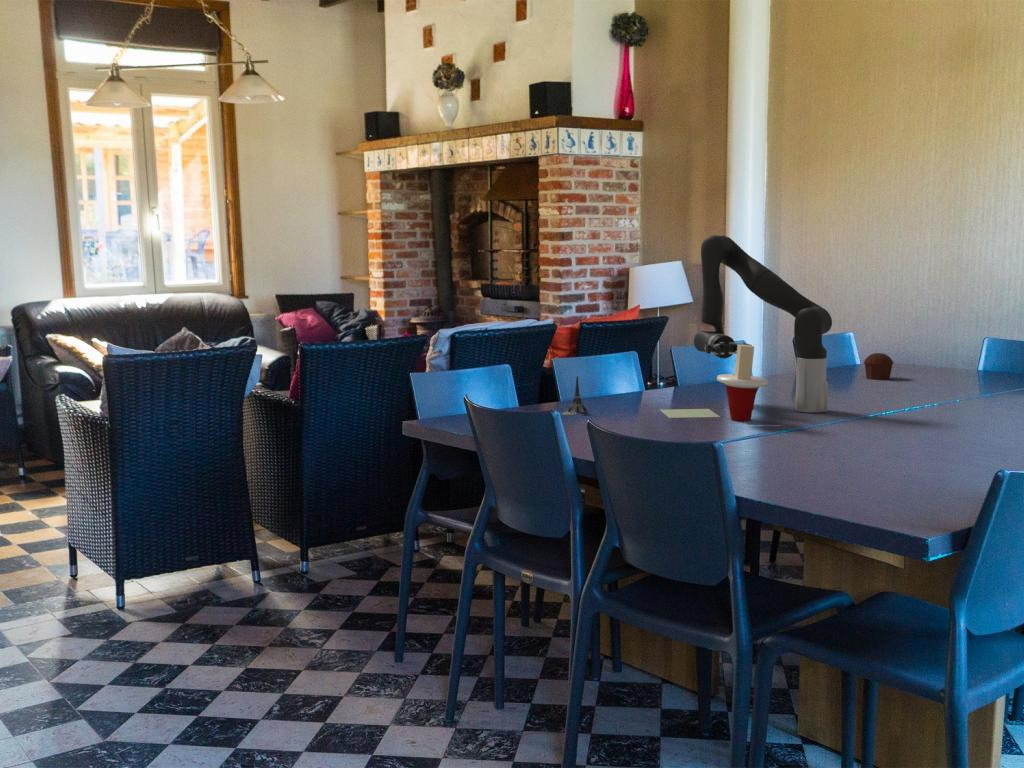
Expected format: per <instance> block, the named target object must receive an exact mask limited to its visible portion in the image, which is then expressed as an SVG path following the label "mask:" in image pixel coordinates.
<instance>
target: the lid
mask: <svg viewBox="0 0 1024 768" xmlns="http://www.w3.org/2000/svg"><path fill="white" fill-rule="evenodd" d="M751 345H752V344H750V345H743V344H742V345H739V344H738V347H737V351H736V352H737V354H736V359H735V366H734V367H735V368H734V374H730V373H728V374H727V373H726V374H718V375H717V376H716V381H717V382H718V383H722V384H724V383H725V384H730V385H737V386H747V387H759V388H761V387H762V388H763V387H767V386H768V384H769V380H768V379H766V378H763V377H760V376H759V377H758V376H755V375H754V376H753V375H752V371H753V365H754V364H753V362H754V356H755V355H754V353H755V346H754V345H752V346H751ZM725 384H724V385H725Z"/></svg>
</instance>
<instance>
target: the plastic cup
mask: <svg viewBox="0 0 1024 768" xmlns="http://www.w3.org/2000/svg"><path fill="white" fill-rule="evenodd" d="M723 384H724V386H725V390H726V396H727V403H728V410H729V417H730V420H731V421H733V422H741V423H742V422H750V421H751V420H752V415H753V411H754V406H755V401H756V396H757V394H758V390H759V389H760V387H747V386H737V385H730V384H725V383H723Z"/></svg>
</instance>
